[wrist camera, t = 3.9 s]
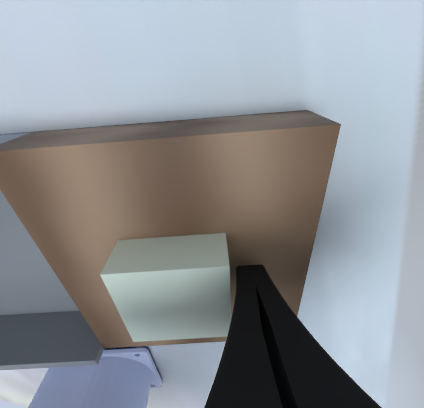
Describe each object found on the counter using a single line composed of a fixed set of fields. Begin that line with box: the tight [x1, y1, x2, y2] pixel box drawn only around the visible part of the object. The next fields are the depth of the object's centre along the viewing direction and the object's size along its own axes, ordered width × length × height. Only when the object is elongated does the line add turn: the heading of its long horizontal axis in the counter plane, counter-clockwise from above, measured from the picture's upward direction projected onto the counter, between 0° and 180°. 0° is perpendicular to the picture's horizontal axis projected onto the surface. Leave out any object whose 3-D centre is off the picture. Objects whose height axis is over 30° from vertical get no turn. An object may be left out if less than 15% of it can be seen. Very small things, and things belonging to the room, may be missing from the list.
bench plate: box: [0, 110, 341, 348], centre depth 13 cm, size 13×14×3 cm
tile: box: [100, 233, 232, 342], centre depth 11 cm, size 5×5×2 cm
